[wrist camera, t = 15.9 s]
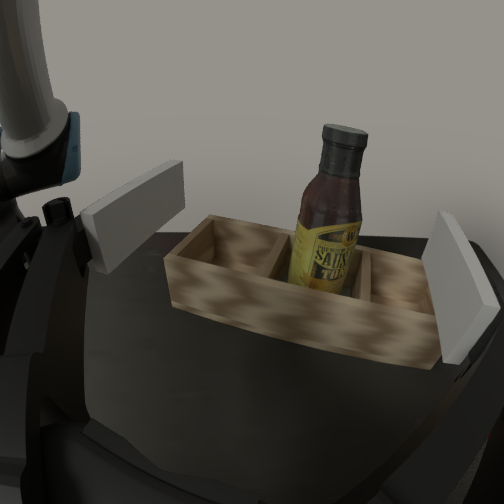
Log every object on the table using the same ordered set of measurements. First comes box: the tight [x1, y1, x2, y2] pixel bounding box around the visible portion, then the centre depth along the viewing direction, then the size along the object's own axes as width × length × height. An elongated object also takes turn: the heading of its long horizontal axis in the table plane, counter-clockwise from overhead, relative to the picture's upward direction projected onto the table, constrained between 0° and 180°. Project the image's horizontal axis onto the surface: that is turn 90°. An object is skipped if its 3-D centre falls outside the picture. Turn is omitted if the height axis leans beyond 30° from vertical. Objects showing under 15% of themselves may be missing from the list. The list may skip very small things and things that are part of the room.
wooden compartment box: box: [164, 215, 442, 370], centre depth 32 cm, size 31×11×7 cm, turn 71°
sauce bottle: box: [287, 124, 368, 295], centre depth 28 cm, size 6×6×20 cm
